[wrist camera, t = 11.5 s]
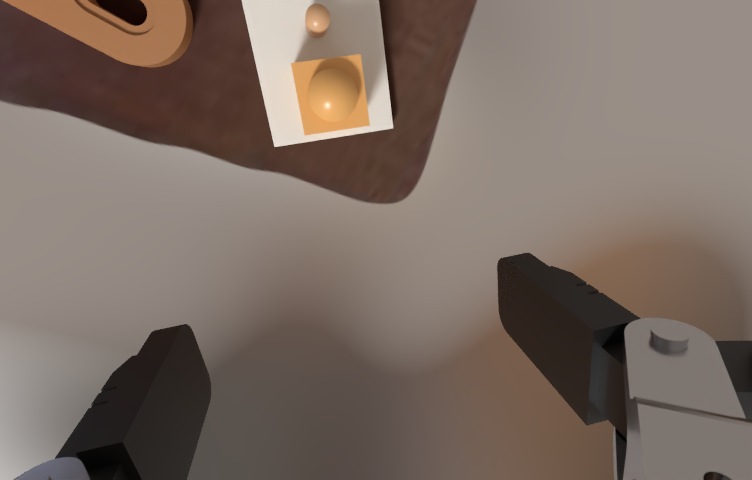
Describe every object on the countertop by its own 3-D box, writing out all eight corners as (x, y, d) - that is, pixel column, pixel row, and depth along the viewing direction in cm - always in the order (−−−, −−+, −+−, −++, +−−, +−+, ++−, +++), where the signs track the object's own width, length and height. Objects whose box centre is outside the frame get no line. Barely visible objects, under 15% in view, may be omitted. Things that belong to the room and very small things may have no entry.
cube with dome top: (304, 129, 39) (304, 136, 32) (292, 67, 37) (290, 62, 30) (360, 121, 39) (371, 126, 33) (351, 59, 37) (362, 52, 31)
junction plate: (275, 145, 40) (271, 152, 35) (239, -15, 35) (229, -33, 30) (390, 127, 42) (402, 131, 37) (372, -29, 37) (383, -49, 31)
